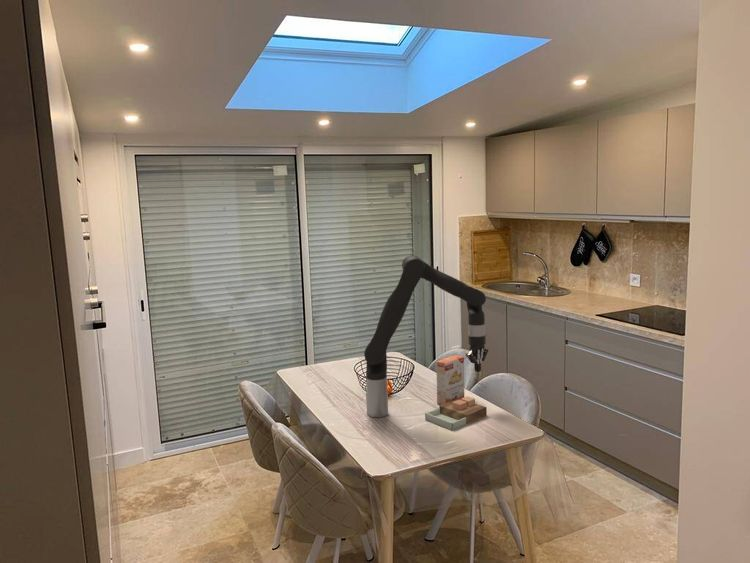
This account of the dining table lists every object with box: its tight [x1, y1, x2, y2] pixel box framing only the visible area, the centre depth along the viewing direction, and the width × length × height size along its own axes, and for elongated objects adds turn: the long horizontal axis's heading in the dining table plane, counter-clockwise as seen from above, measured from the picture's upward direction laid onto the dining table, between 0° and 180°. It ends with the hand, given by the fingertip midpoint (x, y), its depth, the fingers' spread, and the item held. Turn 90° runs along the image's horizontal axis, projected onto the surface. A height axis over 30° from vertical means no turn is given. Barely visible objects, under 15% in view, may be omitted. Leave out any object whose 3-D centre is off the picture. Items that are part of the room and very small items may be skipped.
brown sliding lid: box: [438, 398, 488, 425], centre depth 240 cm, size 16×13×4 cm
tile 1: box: [452, 400, 467, 410], centre depth 238 cm, size 4×4×2 cm
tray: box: [424, 407, 467, 431], centre depth 233 cm, size 16×9×3 cm, turn 39°
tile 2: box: [461, 396, 476, 407], centre depth 242 cm, size 4×4×2 cm
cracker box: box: [435, 354, 465, 405], centre depth 256 cm, size 14×6×21 cm, turn 132°
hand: (477, 371), depth 244 cm, fingers closed
